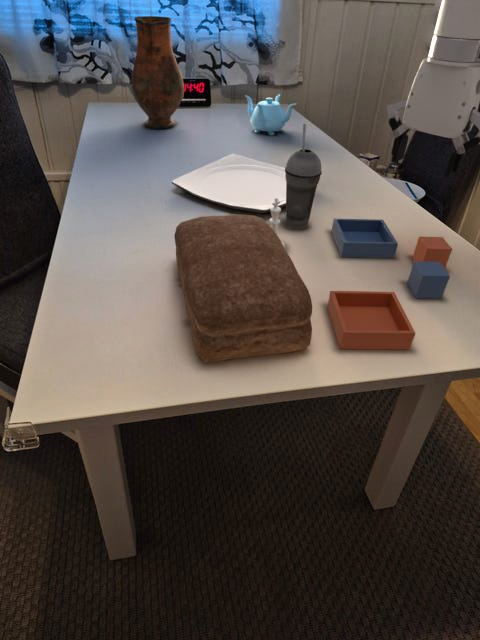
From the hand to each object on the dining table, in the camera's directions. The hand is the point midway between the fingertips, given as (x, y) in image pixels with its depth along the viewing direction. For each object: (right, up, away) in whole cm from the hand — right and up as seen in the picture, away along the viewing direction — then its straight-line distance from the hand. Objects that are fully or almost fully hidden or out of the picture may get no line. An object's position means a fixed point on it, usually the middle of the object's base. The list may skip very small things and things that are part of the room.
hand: (422, 167), depth 76 cm
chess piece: (-25, -12, +11) cm, 30 cm away
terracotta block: (+4, -15, +8) cm, 18 cm away
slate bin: (-7, -11, +13) cm, 18 cm away
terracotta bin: (-12, -27, -8) cm, 30 cm away
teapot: (-22, +37, +73) cm, 84 cm away
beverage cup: (-19, -6, +19) cm, 27 cm away
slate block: (0, -21, +1) cm, 21 cm away
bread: (-32, -23, -4) cm, 40 cm away
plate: (-30, +6, +33) cm, 45 cm away
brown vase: (-58, +41, +76) cm, 104 cm away
